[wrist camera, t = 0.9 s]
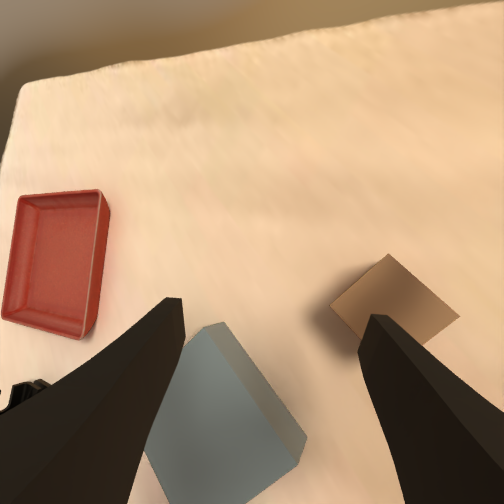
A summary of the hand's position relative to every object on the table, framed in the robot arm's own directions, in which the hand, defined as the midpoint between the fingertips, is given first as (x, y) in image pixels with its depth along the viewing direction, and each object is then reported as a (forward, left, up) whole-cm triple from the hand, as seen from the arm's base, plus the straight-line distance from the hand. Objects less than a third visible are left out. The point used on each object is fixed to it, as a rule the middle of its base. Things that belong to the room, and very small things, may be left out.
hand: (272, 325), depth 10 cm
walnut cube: (-3, -3, -13) cm, 14 cm away
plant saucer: (+27, +23, -14) cm, 38 cm away
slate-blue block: (-1, +15, -14) cm, 20 cm away
